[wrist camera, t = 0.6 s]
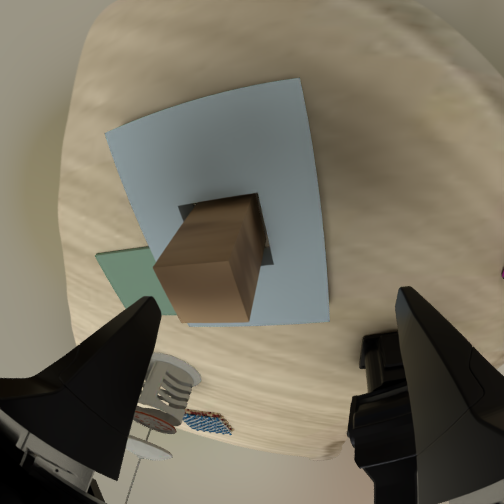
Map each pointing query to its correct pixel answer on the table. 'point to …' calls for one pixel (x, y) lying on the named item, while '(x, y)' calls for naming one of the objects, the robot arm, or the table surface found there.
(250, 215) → the walnut block
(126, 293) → the green pad
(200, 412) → the woven mat
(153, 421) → the french press
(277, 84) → the pocket board
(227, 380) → the table surface
